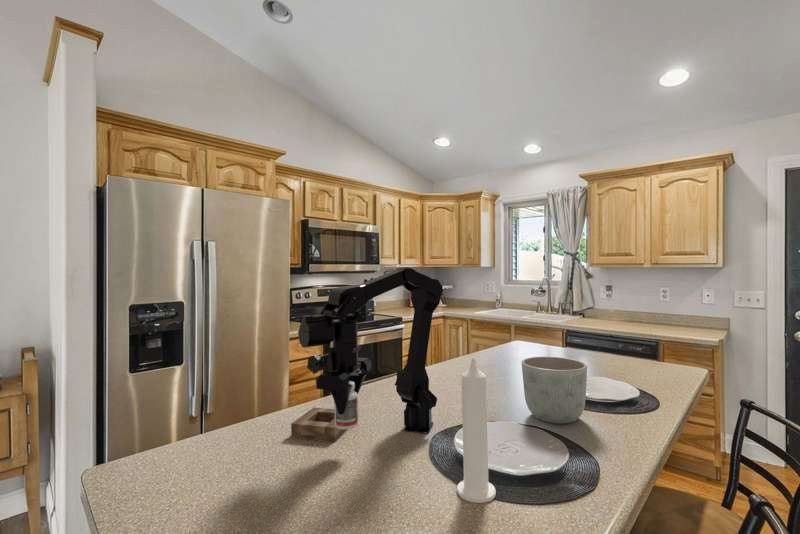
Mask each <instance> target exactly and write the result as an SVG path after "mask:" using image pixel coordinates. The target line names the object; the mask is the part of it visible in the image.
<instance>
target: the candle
mask: <svg viewBox="0 0 800 534" xmlns="http://www.w3.org/2000/svg"><path fill="white" fill-rule="evenodd" d="M487 401H488V399H487V375H486V374H485V373H483V372H482V371H481V370H479V368H478V366H477V361H476V358H475V357H472V358H471V361H470V366H469V368H468V369H467V370H466V371H465V372H463V373H462V374H461V404H462V405H461V406H462V407H461V408H462V409H461V411H462V412H461V413H462V416H461V417H462V455H463V456H462V459H463V461H462V463H463V480H461V481H459V483H458V484H457V485H456V486H457V487H456V492H457V494H458V496H459V497H460V498H461V499H463V500H465V501H466V502H468V503H469V502H470V503H474V504H483V503H488V502H491V501H492V500H494V499H495V497H496V493H497V491H496V487H495V486H494V485H493V484H492V483H491V482H489V454H488V453H489V450H488V449H489V448H488V445H489V444H488V443H489V441H488V440H489V439H488V410H487V409H488V408H487V407H488V405H487V404H488V403H487Z"/></svg>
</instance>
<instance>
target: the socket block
mask: <svg viewBox="0 0 800 534" xmlns="http://www.w3.org/2000/svg"><path fill="white" fill-rule="evenodd" d="M290 428H291V429H290V431H291V432H290V433H291V436H290V437H291V438H292V439H293V438H294V439H303V440H312V441H320V442H321V441H322V442H332V443H336V442H337V441H338V440H339V439H340V438H341V437H342V436H343V435H344V434H345V433H346V432H347V431H348V430H349V429H339V428H337V427H335V412H334V408H326V407H325V408H324V407H313V408H311V409H310V410H307V412H306V413H304V414H303V415H301V416H299V418H297V419H295V420H294V421H293V422H291V423H290Z"/></svg>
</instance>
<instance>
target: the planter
mask: <svg viewBox="0 0 800 534" xmlns="http://www.w3.org/2000/svg"><path fill="white" fill-rule="evenodd" d="M520 364H521V371H522V373H521V374H522V382H523V384H522V385H523V391H524V392H523V393H524V400H525V404H526V406H527V409H528V410H529V412H530V413H531V414H532V415H533V416H534V417H536V418H537V419H539V420H541V421H543V422H546V423H550V424H557V425H559V424H561V425H562V424H565V425H566V424H570V423H573V422H575V421H577V420H578V419H579V418H580V417H581V416H582V414H583V413H584V410H585V407H586V406H585V405H586V398H587V397H586V396H587V380H588V379H587V378H588V364H587V363H585V362H583V361H580V360H578V359H573V358H569V357H568V358H567V357H562V356H548V355H547V356H531V357H527V358H524V359H522V361H521V363H520Z"/></svg>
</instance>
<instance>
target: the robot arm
mask: <svg viewBox="0 0 800 534" xmlns="http://www.w3.org/2000/svg"><path fill="white" fill-rule="evenodd" d="M401 286H403V288H404V289H405V290H406V291H408V292H409V293H410V301H411V304H412V307H413V311H414V312H413V318H412V326H411V330H410V337H409V338H410V339H409V345H408V346H409V347H408V352H407V358H406V364H405V365H404V367H403V368H402V370H400V369H397V371H396V380H395V383H394V386H396V388H395V389H396V393H397V394H398V396H399V397H400V400H401V402H402V403H405V404H406V405H405V408H404V410H403V426H404V432H413V433H421V434H423V433H424V434H429V433H430V432H431V429H432V428H433V425H434V422H433V420H432V419H433V418H432V410H433V408H434V407H436V406H437V402H438V397H437V396H436V395H435V394H434V393H433V392H432V391H431V390H430V379H429V374H428V372H427V369H426V364H427V363H426V362H427V357H428V348H429V342H430V336H431V335H430V333H431V328H432V327H431V326H432V322H433V321H432V319H433V314H434V312H435V311H436V309H437V308H438V306H439V305H440V302H441V298H442V296H443V291H444V290H443V289H444V287H443V285H442V284H441V282H440V281H439V280H438V279H436V278H432V277H429V276H427V275H425V274H423V273H420V272H418V271H417V270H415V269H414V268H412V267H404V266H403V267H397V268H396V269H395V270H391V271H390V272H387V273H384V274H381V275H380V276H377V277H375V278H373V279H370V280H367V281H364V282H363V283H357V284H353V285H352V284H351V285H350V284H349V285H344V286H340V287H334V288H333V289H332V290H331V291H330V292H329V295H328V300H327V301H326V303H325V305H324V306H323V307H322V310H321V311H319V312H320V313H319V315H307V314H306V315H302V320H301V322H300V325H299V329H298V331H297V333H298V341H299V343H300V346H301V347H302V348H312V347H319V346H325V345H326V346H328V345H330V344H331V343H332V346H331V347H329V348H328V350H327V351H328V353H326V354H323V355H320V356H319V354H317V353H316V354H314V355H310V356H308V357H307V362H306V363H307V365H306V368H307V369H308V370H309V371H310V372H311V373H312V375H314V374H315V375H316V374H317V373H318V372H321V371H323V370H326V369H327V370H326V371H325V372H323V373H321V374H319V375H318V376H317V377H316V378H315V389H317V390H327V391H328V392H330V394H331V397H332V398H333V400H334V401H335V404H336V407H337V410H338V413H339V414H344V412H345V408H346V405H347V402H348V398H349V395H350V391H351V388H352V384H348V383H349V381H353V382H354V383H355V389H354V391H356V392H357V394H358V395H359V392H360V390H361V388H362V386H363V383H364V381H365V378H366V376H368V375H367V374H368V373H366V372H369V371H371V370H372V361H371V360H370V359H369V358H368V357H359V352H358V351H360V350H361V349H362V348H361V347H362V346H361V344H359V343H358V323H359V322H365V321H366V317H365V316H363V314H361V313H360V311H359V310H360V309H362V308H363V307H365V306H367V304H368V303H369V301H371V300H372V299H374V298H376V297H378V296H380V295H382V294H386V293H388V292H389V291H392V290H394V289H397V288H398V287H401ZM362 370H364V371H365V372H362ZM334 401H333V402H334Z"/></svg>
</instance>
